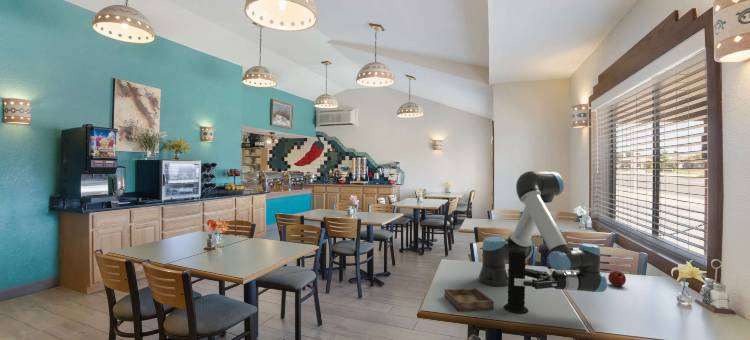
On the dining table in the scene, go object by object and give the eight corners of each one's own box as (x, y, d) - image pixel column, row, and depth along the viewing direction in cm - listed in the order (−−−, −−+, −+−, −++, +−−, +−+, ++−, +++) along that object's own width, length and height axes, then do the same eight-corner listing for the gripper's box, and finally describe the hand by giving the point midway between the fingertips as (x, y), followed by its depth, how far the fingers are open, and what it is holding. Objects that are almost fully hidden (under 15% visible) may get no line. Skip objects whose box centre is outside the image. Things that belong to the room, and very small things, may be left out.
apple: (610, 287, 178) (610, 271, 178) (606, 282, 185) (606, 267, 185) (627, 289, 175) (627, 273, 175) (622, 284, 182) (623, 269, 182)
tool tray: (476, 295, 164) (476, 287, 164) (493, 309, 148) (493, 301, 148) (444, 296, 161) (444, 289, 161) (458, 311, 146) (458, 303, 146)
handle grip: (529, 315, 143) (527, 306, 152) (531, 252, 142) (528, 246, 152) (504, 311, 146) (503, 302, 155) (505, 249, 145) (504, 244, 155)
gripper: (554, 263, 158) (505, 260, 161) (575, 281, 133) (517, 277, 137) (553, 279, 158) (505, 276, 161) (575, 300, 133) (517, 296, 137)
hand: (510, 276), depth 149 cm, fingers open, 13 cm apart
